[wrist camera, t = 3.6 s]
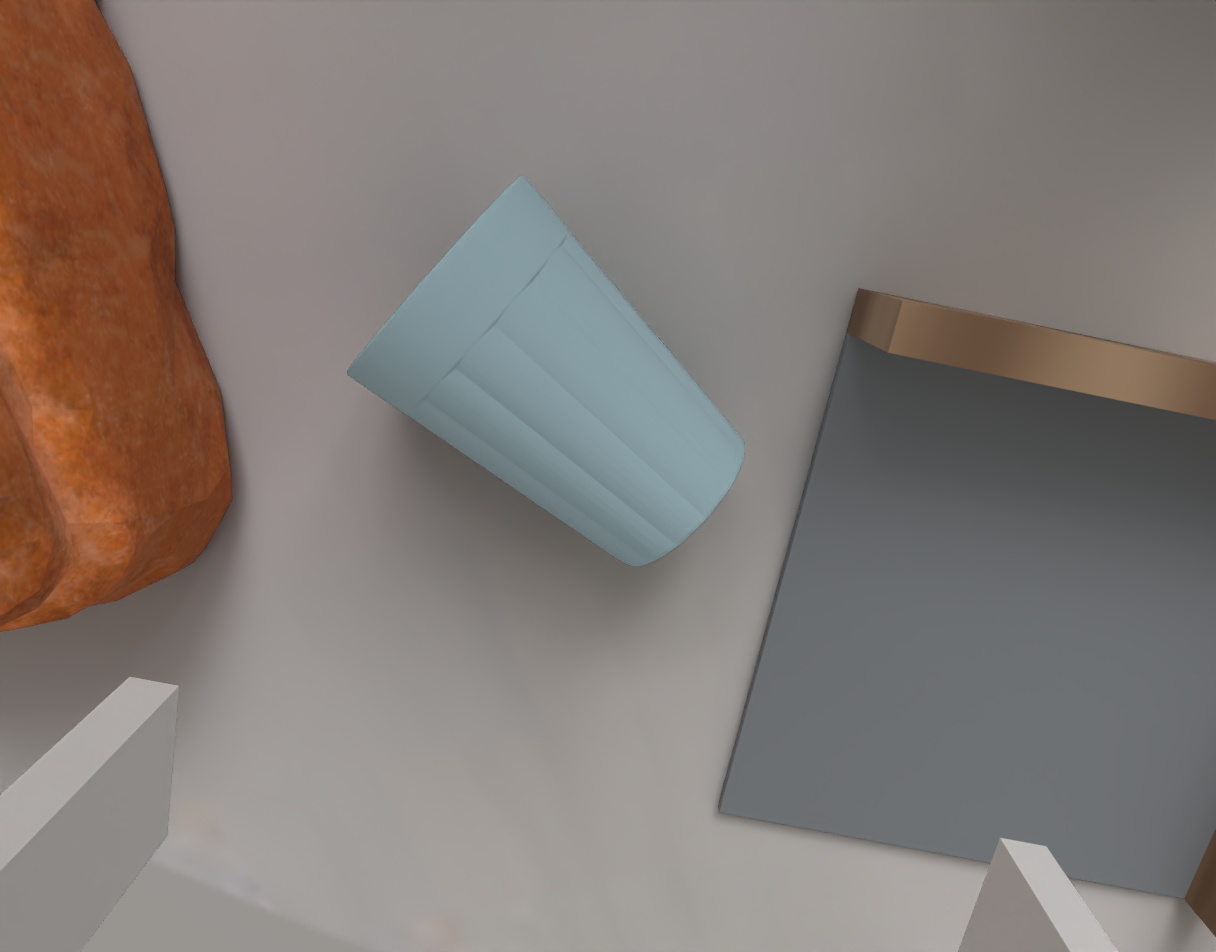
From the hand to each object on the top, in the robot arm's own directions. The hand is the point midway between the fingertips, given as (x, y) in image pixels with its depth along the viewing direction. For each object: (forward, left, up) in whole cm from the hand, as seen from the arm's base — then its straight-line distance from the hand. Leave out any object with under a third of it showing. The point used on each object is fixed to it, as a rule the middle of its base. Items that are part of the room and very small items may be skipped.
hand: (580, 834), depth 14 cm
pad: (+16, -2, -19) cm, 25 cm away
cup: (+1, +2, -20) cm, 20 cm away
